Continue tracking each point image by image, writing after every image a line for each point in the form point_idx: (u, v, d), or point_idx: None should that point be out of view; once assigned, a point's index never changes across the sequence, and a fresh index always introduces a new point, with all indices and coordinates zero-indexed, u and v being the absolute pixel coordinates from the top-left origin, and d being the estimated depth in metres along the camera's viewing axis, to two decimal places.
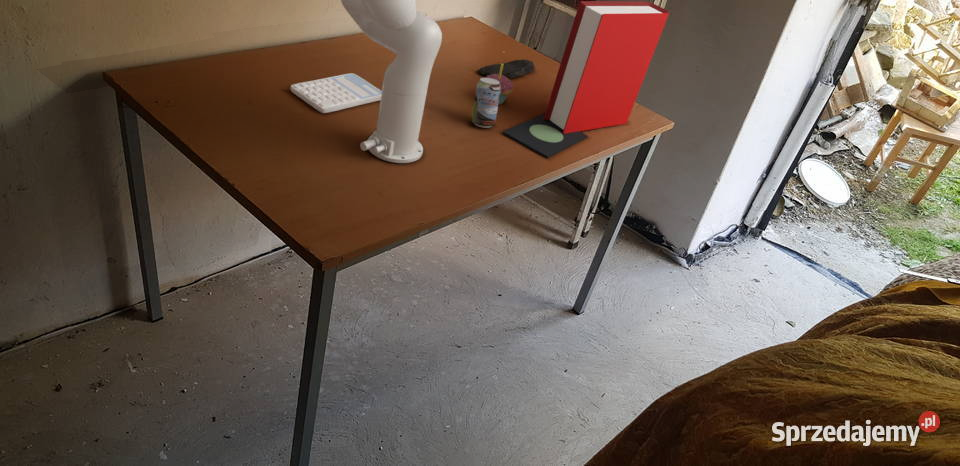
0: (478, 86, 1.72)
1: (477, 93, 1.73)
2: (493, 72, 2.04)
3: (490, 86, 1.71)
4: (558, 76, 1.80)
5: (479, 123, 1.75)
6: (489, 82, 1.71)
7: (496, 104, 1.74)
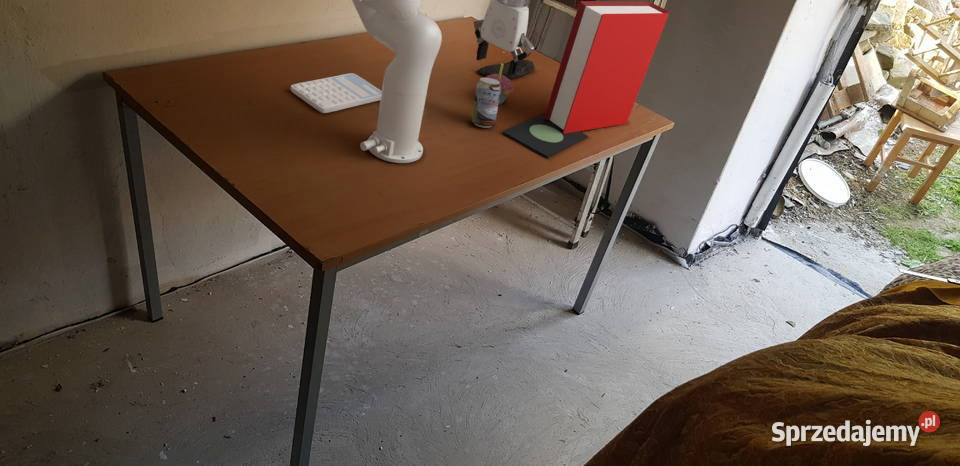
0: (478, 86, 1.72)
1: (477, 93, 1.73)
2: (493, 72, 2.04)
3: (490, 86, 1.71)
4: (558, 76, 1.80)
5: (479, 123, 1.75)
6: (489, 82, 1.71)
7: (496, 104, 1.74)
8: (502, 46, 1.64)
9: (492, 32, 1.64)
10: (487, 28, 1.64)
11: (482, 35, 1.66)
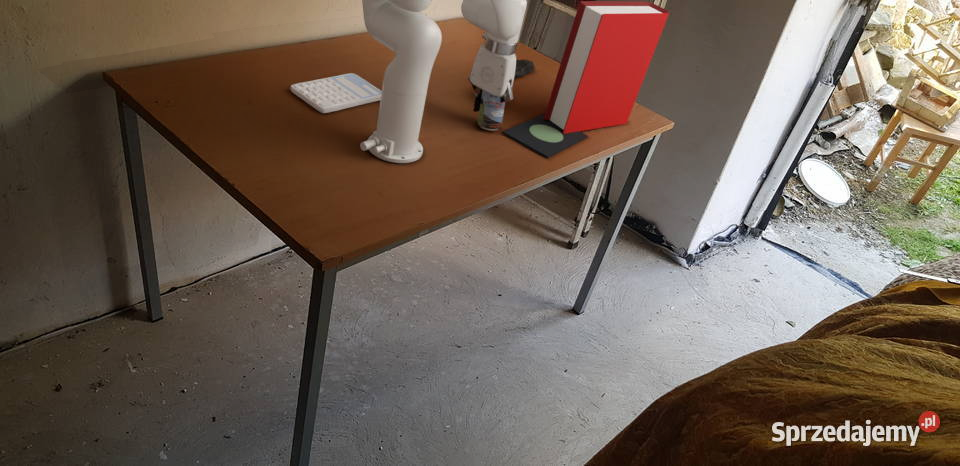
0: None
1: (483, 96, 1.72)
2: None
3: None
4: (558, 76, 1.80)
5: (485, 126, 1.74)
6: None
7: (502, 107, 1.73)
8: (491, 91, 1.70)
9: (481, 78, 1.70)
10: (476, 74, 1.71)
11: (471, 80, 1.72)
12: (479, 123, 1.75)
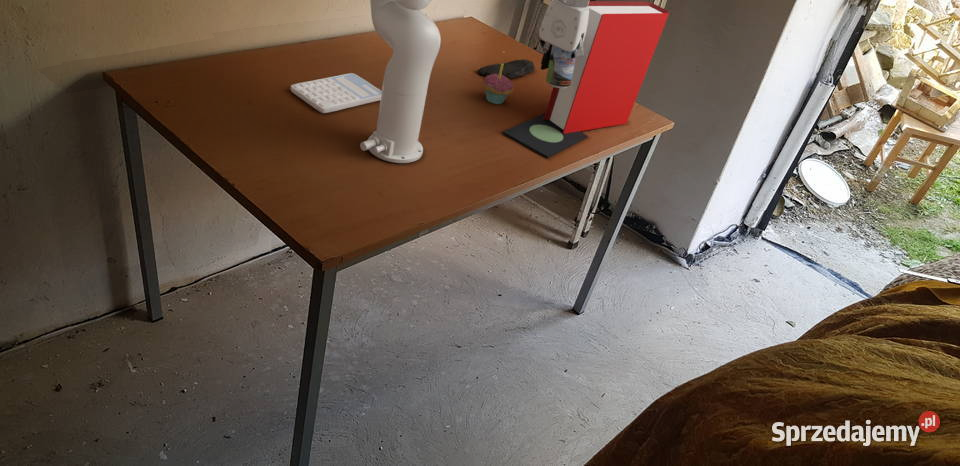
0: None
1: (554, 51, 1.66)
2: (493, 72, 2.04)
3: None
4: None
5: (556, 83, 1.68)
6: None
7: (573, 63, 1.67)
8: (562, 46, 1.64)
9: (552, 32, 1.64)
10: (546, 28, 1.65)
11: (541, 35, 1.66)
12: (548, 81, 1.69)
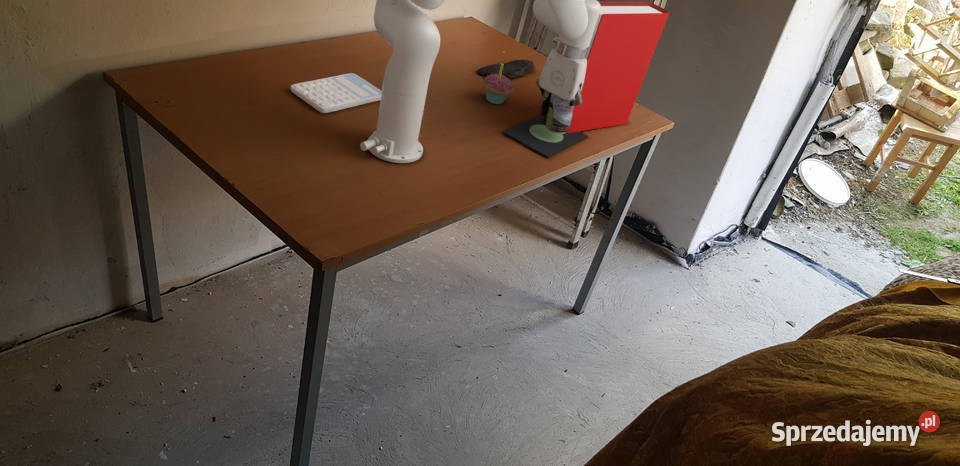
0: None
1: (553, 99, 1.73)
2: (493, 72, 2.04)
3: None
4: None
5: (555, 129, 1.76)
6: None
7: (572, 110, 1.75)
8: (560, 95, 1.71)
9: (551, 81, 1.71)
10: (546, 77, 1.72)
11: (540, 84, 1.74)
12: (548, 127, 1.77)
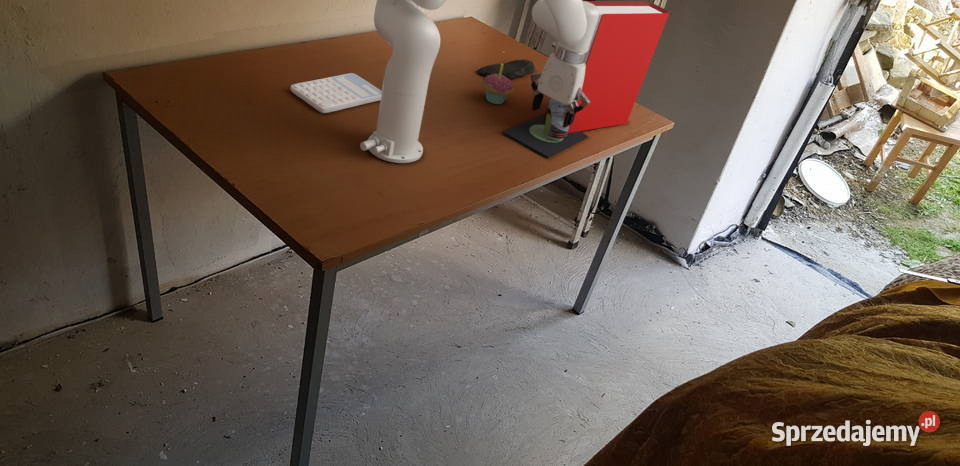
0: (552, 99, 1.74)
1: (551, 106, 1.74)
2: (493, 72, 2.04)
3: None
4: None
5: (553, 136, 1.76)
6: None
7: None
8: (559, 99, 1.72)
9: (550, 86, 1.72)
10: (545, 82, 1.73)
11: (539, 88, 1.74)
12: (546, 133, 1.78)
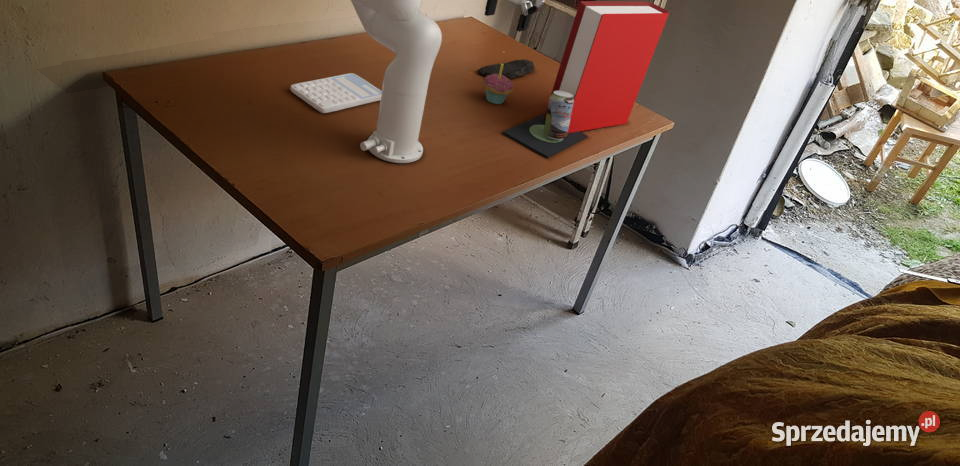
0: (552, 99, 1.74)
1: (551, 106, 1.74)
2: (493, 72, 2.04)
3: (565, 99, 1.72)
4: (558, 76, 1.80)
5: (553, 136, 1.76)
6: (563, 95, 1.73)
7: (569, 116, 1.76)
8: None
9: None
10: None
11: None
12: (546, 133, 1.78)
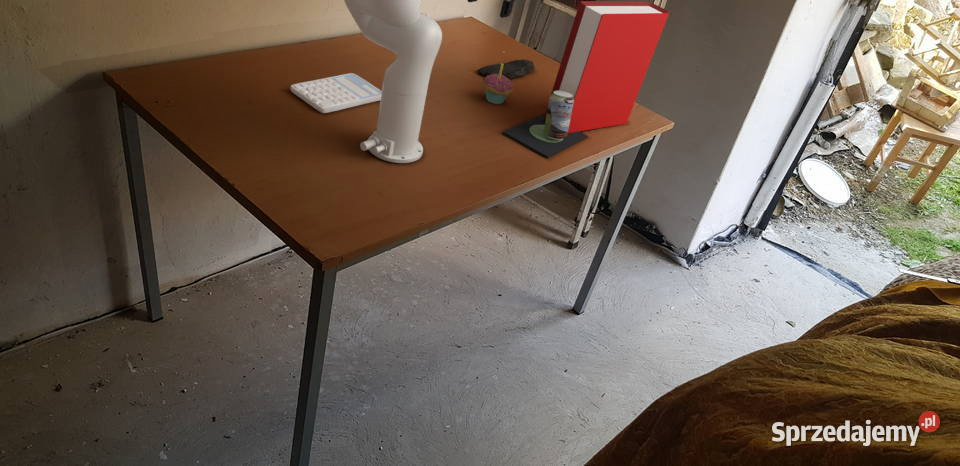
0: (552, 99, 1.74)
1: (551, 106, 1.74)
2: (493, 72, 2.04)
3: (565, 99, 1.72)
4: (558, 76, 1.80)
5: (553, 136, 1.76)
6: (563, 95, 1.73)
7: (569, 116, 1.76)
8: None
9: None
10: None
11: None
12: (546, 133, 1.78)
